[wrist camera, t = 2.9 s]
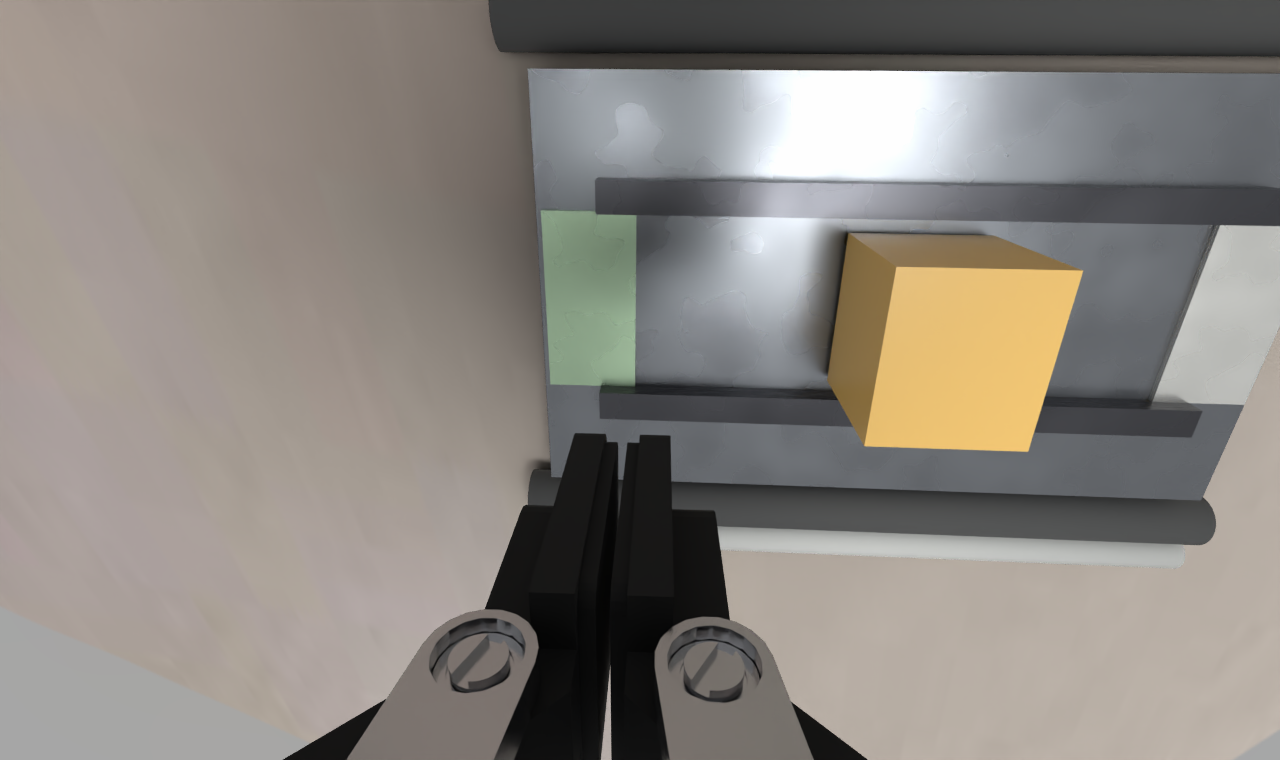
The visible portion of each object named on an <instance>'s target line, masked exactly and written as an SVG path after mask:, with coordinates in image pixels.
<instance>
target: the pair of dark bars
mask: <svg viewBox="0 0 1280 760" xmlns="http://www.w3.org/2000/svg"><path fill="white" fill-rule="evenodd" d="M489 12H490V21H491V27H492V32H493V36H494V40H495V43H496V45H497V47H498V49H499V51H501V52H593V53H773V54H952V55H1132V56H1280V0H489ZM561 478H562V477H551V470H539V469H535V470H533V472H532V475H531V478H530V483H529V491H528V505H546V506H554V502H555V499H556V495H557V492H558V488H559V485H560V482H561ZM622 484H623V480H618V494H619V510H620V502H621V493H622ZM672 509H683V510H714V511H715V514H716V520H717V527H718V535H719V542H720V550H733V551H757V552H782V553H806V554H830V555H855V556H879V557H904V558H928V559H953V560H977V561H1002V562H1026V563H1051V564H1075V565H1100V566H1124V567H1149V568H1173V569H1175V568H1179V567H1180V566H1182V564H1183V563H1184V560H1185V549H1184V546H1183V545H1202V544H1205V543H1207V542H1208V541H1209V540H1210V539H1211V538H1212V537H1213V535H1214V532H1215V528H1216V519H1215V515H1214V512H1213V509H1212V507H1211V506H1210V504H1209V503H1208V502H1207V501H1206V500H1205V499H1204V498H1203V497H1202V499H1201V501H1200V500H1172V499H1144V498H1117V497H1089V496H1061V495H1033V494H1006V493H978V492H950V491H923V490H895V489H867V488H840V487H812V486H784V485H757V484H729V483H701V482H674V481H672Z"/></svg>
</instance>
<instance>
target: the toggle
mask: <svg viewBox="0 0 1280 760" xmlns="http://www.w3.org/2000/svg"><path fill="white" fill-rule="evenodd" d="M1082 273H1083V270H1080V269H1078V268H1075V267H1073V266H1070V265H1068V264H1065V263H1063V262H1060V261H1058V260H1055V259H1052V258H1050V257H1047V256H1045V255H1042V254H1040V253H1037V252H1035V251H1032V250H1030V249H1027V248H1025V247H1022V246H1019V245H1017V244H1014V243H1012V242H1009V241H1007V240H1004V239H1002V238H999V237H997V236H994V235H942V234H887V233H848V240H847V246H846V253H845V260H844V267H843V274H842V281H841V288H840V295H839V302H838V309H837V316H836V323H835V330H834V336H833V343H832V350H831V357H830V364H829V371H828V378H827V381H828V383H829V385H830V386H831V388H832V390H833V392H834V393H835V395H836V397H837V399H838V401H839V402H840V404H841V406H842V408H843V409H844V411H845V413H846V415H847V417H848V418H849V420H850V422H851V424H852V425H853V427H854V429H855V431H856V433H857V434H858V436H859V438H860V440H861V441H862V443H863V445H864V446H870V447H900V448H931V449H961V450H991V451H1021V452H1028V450H1029V447H1030V444H1031V441H1032V437H1033V434H1034V431H1035V428H1036V424H1037V421H1038V418H1039V414H1040V411H1041V408H1042V405H1043V401H1044V398H1045V395H1046V391H1047V388H1048V385H1049V382H1050V378H1051V375H1052V372H1053V368H1054V365H1055V362H1056V359H1057V355H1058V352H1059V349H1060V346H1061V342H1062V339H1063V336H1064V332H1065V329H1066V326H1067V323H1068V319H1069V316H1070V313H1071V309H1072V306H1073V303H1074V300H1075V296H1076V293H1077V290H1078V287H1079V283H1080V280H1081V277H1082Z"/></svg>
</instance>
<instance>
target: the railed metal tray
mask: <svg viewBox="0 0 1280 760" xmlns="http://www.w3.org/2000/svg"><path fill="white" fill-rule="evenodd" d="M528 82H529V99H530V116H531V134H532V151H533V168H534V185H535V202H536V220H537V237H538V254H539V271H540V288H541V305H542V323H543V340H544V357H545V374H546V391H547V408H548V426H549V443H550V460H551V477H562V475H563V471H564V468H565V464H566V461H567V457H568V454H569V450H570V447H571V444H572V440H573V437H574V434H575V433H597V434H606V436H607V442H618V480H623V476H624V467H625V458H626V450H627V442H632V443H639V438H640V435H670V436H671V481H674V482H701V483H729V484H757V485H784V486H812V487H840V488H867V489H895V490H923V491H950V492H978V493H1006V494H1033V495H1061V496H1089V497H1117V498H1144V499H1172V500H1200V501H1201V499H1202V497H1203V495H1204V493H1205V491H1206V488H1207V486H1208V484H1209V482H1210V479H1211V477H1212V475H1213V473H1214V471H1215V468H1216V466H1217V464H1218V462H1219V460H1220V457H1221V455H1222V453H1223V451H1224V449H1225V446H1226V444H1227V442H1228V440H1229V438H1230V435H1231V433H1232V431H1233V429H1234V427H1235V424H1236V422H1237V420H1238V418H1239V415H1240V413H1241V411H1242V409H1243V407H1244V404H1245V402H1246V400H1247V398H1248V396H1249V393H1250V391H1251V389H1252V387H1253V385H1254V382H1255V380H1256V378H1257V376H1258V374H1259V371H1260V369H1261V367H1262V365H1263V362H1264V360H1265V358H1266V356H1267V354H1268V351H1269V349H1270V347H1271V345H1272V343H1273V340H1274V338H1275V336H1276V334H1277V332H1278V329H1279V327H1280V74H1258V73H1110V72H962V71H814V70H666V69H528ZM848 233H887V234H942V235H994V236H997V237H999V238H1002V239H1004V240H1007V241H1009V242H1012V243H1014V244H1017V245H1019V246H1022V247H1025V248H1027V249H1030V250H1032V251H1035V252H1037V253H1040V254H1042V255H1045V256H1047V257H1050V258H1052V259H1055V260H1058V261H1060V262H1063V263H1065V264H1068V265H1070V266H1073V267H1075V268H1078V269H1080V270H1083V273H1082V277H1081V280H1080V283H1079V287H1078V290H1077V293H1076V296H1075V300H1074V303H1073V306H1072V309H1071V313H1070V316H1069V319H1068V323H1067V326H1066V329H1065V332H1064V336H1063V339H1062V342H1061V346H1060V349H1059V352H1058V355H1057V359H1056V362H1055V365H1054V368H1053V372H1052V375H1051V378H1050V382H1049V385H1048V388H1047V391H1046V395H1045V398H1044V401H1043V405H1042V408H1041V411H1040V414H1039V418H1038V421H1037V424H1036V428H1035V431H1034V434H1033V437H1032V441H1031V444H1030V447H1029V450H1028V452H1021V451H991V450H961V449H931V448H900V447H870V446H864V445H863V443H862V441H861V440H860V438H859V436H858V434H857V433H856V431H855V429H854V427H853V425H852V424H851V422H850V420H849V418H848V417H847V415H846V413H845V411H844V409H843V408H842V406H841V404H840V402H839V401H838V399H837V397H836V395H835V393H834V392H833V390H832V388H831V386H830V385H829V383H828V381H827V378H828V371H829V364H830V357H831V350H832V343H833V336H834V330H835V323H836V316H837V309H838V302H839V295H840V288H841V281H842V274H843V267H844V260H845V253H846V246H847V240H848Z"/></svg>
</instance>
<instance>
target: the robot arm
mask: <svg viewBox="0 0 1280 760" xmlns="http://www.w3.org/2000/svg"><path fill="white" fill-rule="evenodd" d="M610 667H611V751H612V760H867V759H866V758H865V757H863V756H862V755H861V754H859V753H858V752H857V751H855V750H854V749H853V748H851V747H850V746H849V745H848V744H846V743H845V742H844V741H842V740H841V739H840V738H838V737H837V736H836V735H834V734H833V733H832V732H830V731H829V730H828V729H826V728H825V727H824V726H822V725H821V724H820V723H818V722H817V721H816V720H815V719H813V718H812V717H811V716H809V715H808V714H807V713H805V712H804V711H803V710H801V709H800V708H799V707H797V706H796V705H795V704H793V703H792V702H791V701H790V698H789V695H788V693H787V690H786V688H785V685H784V683H783V680H782V678H781V675H780V672H779V670H778V667H777V665H776V662H775V660H774V657H773V655H772V653H771V652H770V650H769V648H768V647H767V645H766V643H765V642H764V641H763V640H762V639H761V638H760V637H759V636H758V635H756V634H755V633H754V632H753V631H752V630H750V629H748V628H747V627H745V626H743V625H741V624H739V623H737V622H735V621H731V620H730V617H729V610H728V602H727V595H726V587H725V580H724V572H723V565H722V557H721V550H720V542H719V535H718V527H717V520H716V514H715V511H714V510H683V509H672V481H671V436H670V435H640V438H639V443H632V442H627V450H626V458H625V467H624V476H623V484H622V493H621V502H620V510H619V494H618V442H607V436H606V434H597V433H575V434H574V437H573V440H572V444H571V447H570V450H569V454H568V457H567V461H566V464H565V468H564V471H563V475H562V478H561V482H560V485H559V488H558V492H557V495H556V499H555V502H554V506H546V505H525V506H523V508H522V510H521V513H520V515H519V518H518V521H517V523H516V526H515V529H514V531H513V534H512V537H511V540H510V542H509V545H508V548H507V550H506V553H505V556H504V559H503V561H502V564H501V567H500V569H499V572H498V575H497V577H496V580H495V583H494V586H493V588H492V591H491V594H490V596H489V599H488V602H487V605H486V607H485V609H484V610H478V611H473V612H468V613H465V614H463V615H460V616H458V617H455V618H453V619H451V620H449V621H447V622H446V623H444V624H443V625H442V626H440V627H439V628H437V629H436V630H434V632H433V633H432V634H431V635H430V636H429V637H428V638H427V640H426V641H425V642H424V643H423V644H422V646H421V647H420V649H419V650H418V652H417V653H416V655H415V656H414V658H413V659H412V661H411V662H410V664H409V665H408V667H407V669H406V670H405V672H404V673H403V675H402V676H401V678H400V679H399V681H398V682H397V684H396V685H395V687H394V688H393V690H392V691H391V693H390V694H389V696H388V697H387V699H385V700H383V701H382V702H380V703H378V704H377V705H375V706H373V707H372V708H370V709H368V710H366V711H365V712H363V713H361V714H360V715H358V716H356V717H355V718H353V719H351V720H349V721H348V722H346V723H344V724H343V725H341V726H339V727H338V728H336V729H334V730H332V731H331V732H329V733H327V734H326V735H324V736H322V737H321V738H319V739H317V740H315V741H314V742H312V743H310V744H309V745H307V746H305V747H304V748H302V749H300V750H299V751H297V752H295V753H293V754H292V755H290V756H288V757H287V758H285V759H283V760H601V752H602V742H603V732H604V722H605V712H606V702H607V691H608V681H609V671H610Z"/></svg>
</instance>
